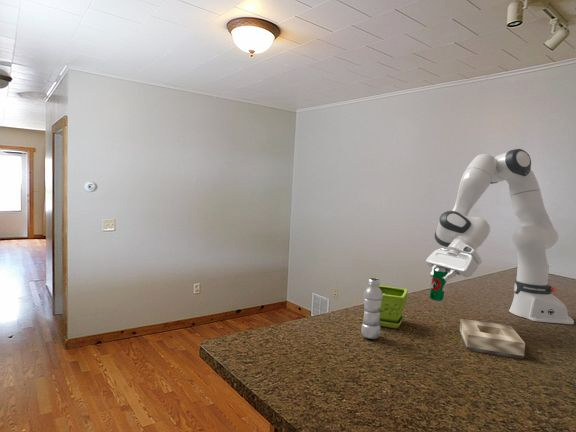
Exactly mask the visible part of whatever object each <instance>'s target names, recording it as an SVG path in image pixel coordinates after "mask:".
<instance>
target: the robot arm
mask: <svg viewBox="0 0 576 432" xmlns="http://www.w3.org/2000/svg"><path fill="white" fill-rule="evenodd" d="M531 168H532V159H531V157H530V155H529V153H528V152H527V151H525V150H524V149H522V148H514V149H510V150H509V151H506V152H502V153H500V154H498V155H496V156H495V157H494V156H493V155H491V154H488V153H480V154H477V155H476V156H475V157H474V158H473V159H472V161H471V162H470V163H469V164H468V166H467V167H466V168H465V170H464V171H463V174H462V176H461V179H460V182H459V185H458V191H457V194H456V195H457V196H456V198H455V199H456V200H455V204H454V206H453V208H452V210H447V211H445V212H443V213H441V215H440V216H439V219H438V222H437V223H438V224H437V226H436V230H435V232H434V240H435V241H436V243H437V244H439V245H440V246H441V248H438V249H435V250H433V252H432V253H430V255H429V256H428V257H426V259H425V262H426V264H427V266H428V267H429V268H431V272H430V273H429V276H430V277H431V278H432V277H433V271H434V269H435V267H439V268H444V269H447V271H448V274H447V275H444V276H443V277H442V279H443V280H444V281H446V283H447V282H449V281H450V279H452V278H455V277H456V276H461V277H465V278H470V277H471V276H473V274H475V272H476V271H477V270H478V268H479V265H481V264H482V263H483V260H482V258H481V257H480V255H479V254H478V252H477V250H478V248H480V247H482V245H483V243H484V242H485V241H486V239H487V238H488V236H489V235H490V232H491V226H490V224H489V223H488V222H487V221H486V219H484V218H482V217H481V216H470V215H469V213H470V211H471V210H472V209H473V207H475V206H474V205H475V204H476V203H477V202H478V201H479V199H480V198H481V197H482V196H483V195H484V193H486V190H487V189H488V187H489V186H490V185H491V184H493V185H494V184H498V183H500V182H503V181H506V183H507V184H508V190H509V195H510V199H511V203H512V208H513V212H514V215H515V216H516V217H517V218H518V221H519V222H520V225H521V226H520V227H519V228H517V229H515V230H514V232H513V234H512V243H513V245H514V247H515V250H516V258H517V259H516V260H517V269H516V270H517V271H516V278H515V280H514V286H513V293H514V295H513V300H512V303H511V306H510V308H509V310H508V311H509V313H511V314H513V315H515V316H517V317H520V318H525V319H528V320H529V321H533V322H539V323H540V322H541V323H551V324H552V323H553V324H560V325H561V324H563V325H574V324H575V321H574V318H572V317H571V316H569V315H568V314H569V313H568V309H567V305H565V304H564V303H563V302H562V301H561V300H560V299H558V298H557V297H556V296H555V295H554V294H553V293H556V292H557V291H558V288H556V287H554V286H551V285H549V284H548V281H549V273H550V272H549V271H550V265H549V263H548V259H547V253H546V251H547V250H548V249H550V248H552V247H554V246H555V245H556V244H557V243H558V241H559V234H558V231H557V230H556V229H555V228H554V226H553V223H552V220H551V219H550V216H549V214H548V213H547V210H546V207H545V203H544V200H543V196H542V191H541V188H540V185H539V182H538V179H537V177H536V176H535V172H533V170H531ZM444 247H445V248H444Z"/></svg>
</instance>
